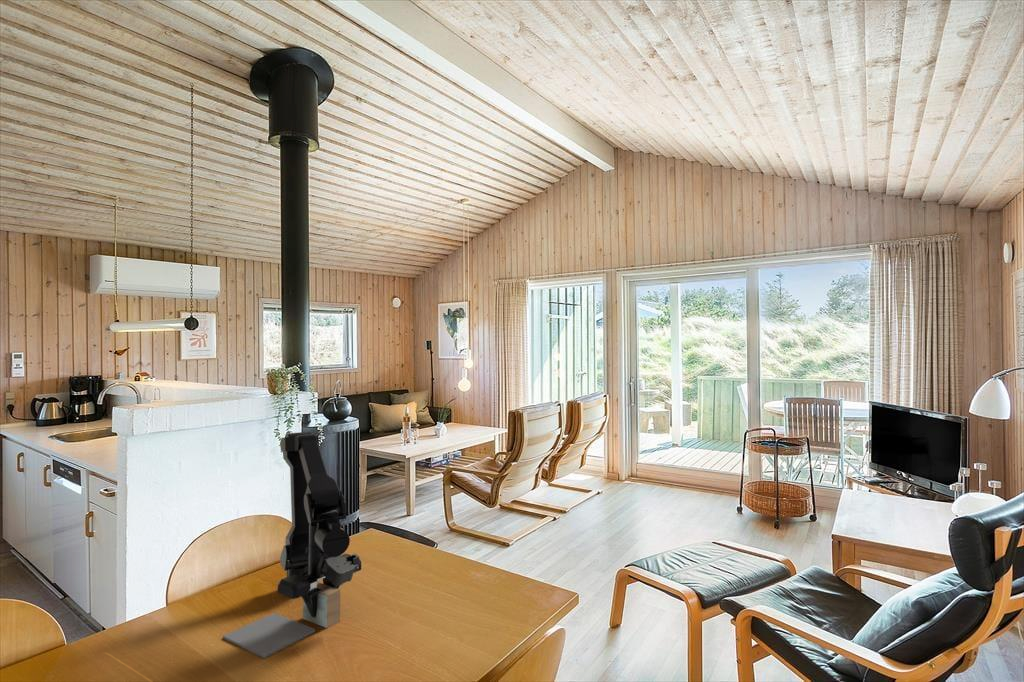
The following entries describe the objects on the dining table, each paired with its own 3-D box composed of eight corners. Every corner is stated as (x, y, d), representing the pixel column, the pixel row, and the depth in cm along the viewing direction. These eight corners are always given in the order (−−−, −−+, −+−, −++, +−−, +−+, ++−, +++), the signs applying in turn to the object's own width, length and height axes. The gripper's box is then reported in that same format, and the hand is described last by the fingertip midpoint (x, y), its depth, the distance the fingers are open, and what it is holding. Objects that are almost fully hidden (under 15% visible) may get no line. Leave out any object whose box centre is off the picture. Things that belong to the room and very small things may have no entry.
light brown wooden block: (302, 619, 120) (302, 587, 120) (315, 612, 123) (316, 581, 124) (326, 628, 116) (327, 595, 116) (339, 621, 119) (340, 589, 119)
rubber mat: (222, 638, 112) (222, 635, 112) (274, 614, 122) (274, 612, 122) (264, 658, 105) (264, 655, 105) (315, 631, 115) (315, 629, 115)
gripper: (311, 564, 108) (309, 642, 108) (378, 537, 124) (377, 605, 124) (276, 553, 114) (275, 627, 113) (345, 529, 130) (344, 594, 129)
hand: (321, 613), depth 120 cm, fingers closed on light brown wooden block, 4 cm apart
